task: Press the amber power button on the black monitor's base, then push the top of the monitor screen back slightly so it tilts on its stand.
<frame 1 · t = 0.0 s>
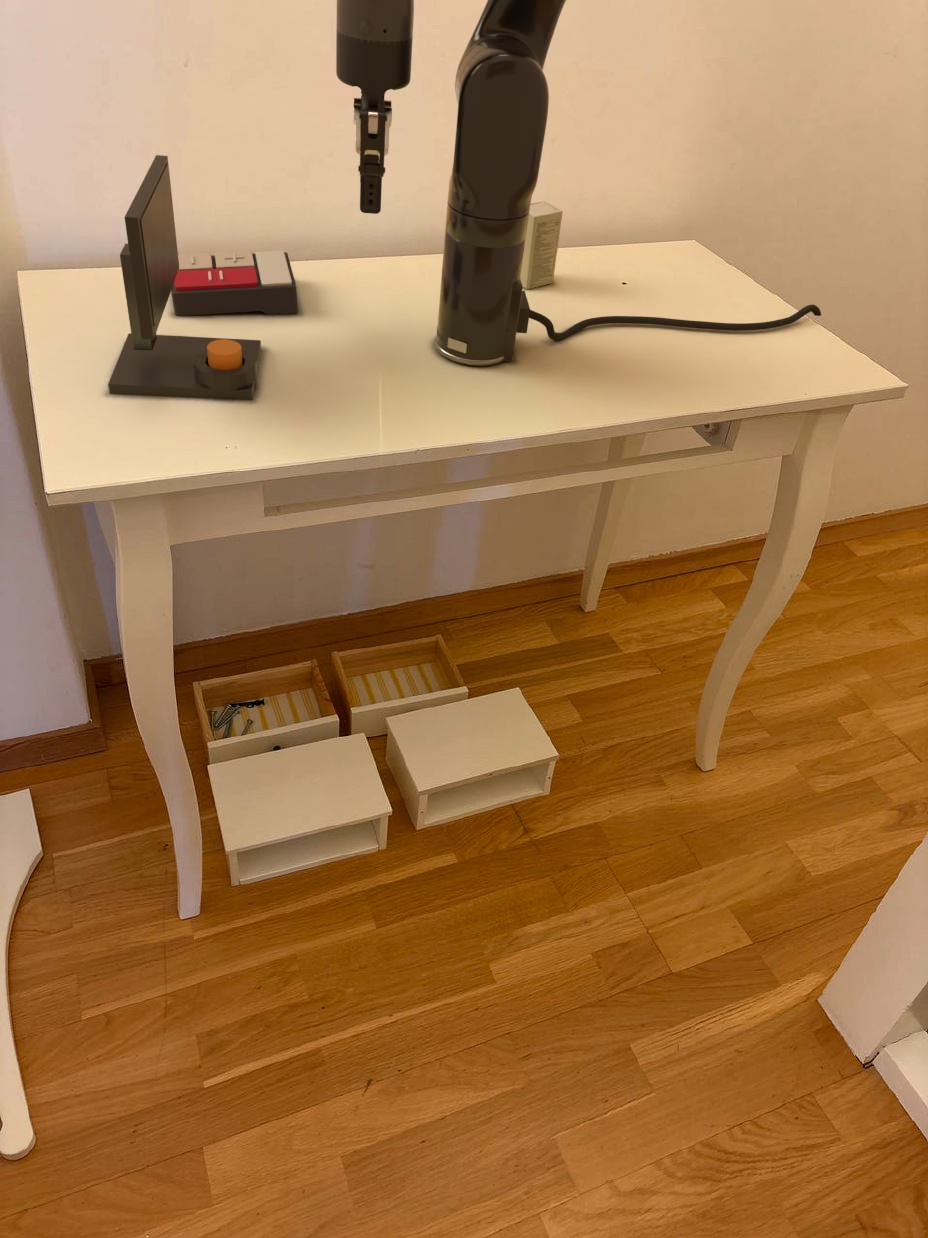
hand: (370, 198, 105), 17 cm above the table, tool pointing down, fingers open, 8 cm apart
cream printed box: (529, 282, 136), on the table
monitor stand: (161, 369, 107), resting on monitor base
power button: (224, 355, 103), point 4 cm above the table, slide at 0.1 cm
calculator: (234, 298, 123), on the table
monitor screen: (152, 244, 98), point 14 cm above the table, hinge at 0.0°
monitor base: (189, 370, 107), on the table
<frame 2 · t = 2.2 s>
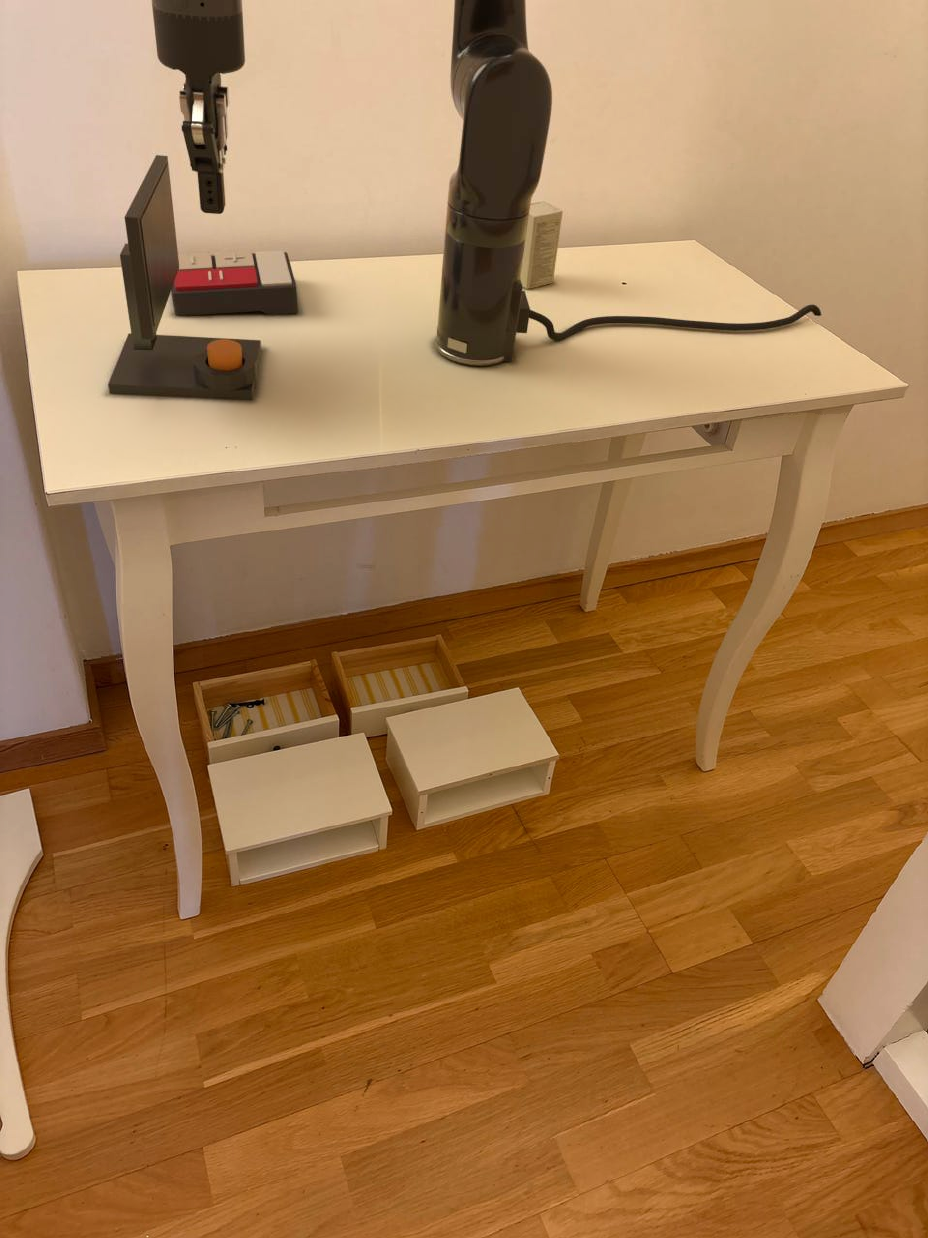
hand: (213, 209, 93), 19 cm above the table, tool pointing down, fingers closed
nothing on the table moved.
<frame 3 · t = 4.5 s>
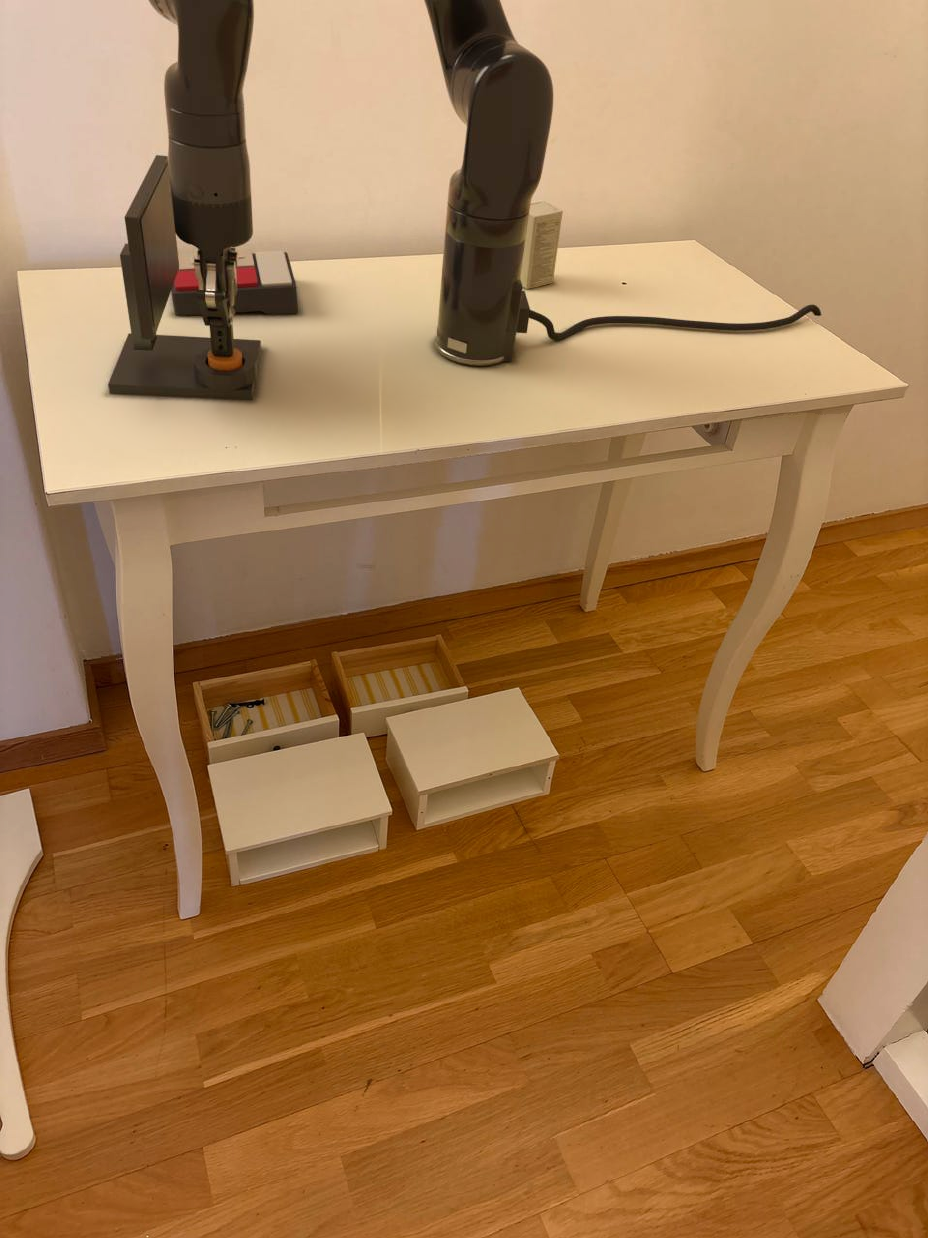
hand: (223, 353, 103), 4 cm above the table, tool pointing down, fingers closed
power button: (225, 362, 104), point 3 cm above the table, slide at -0.7 cm, touching gripper
everything else where it was.
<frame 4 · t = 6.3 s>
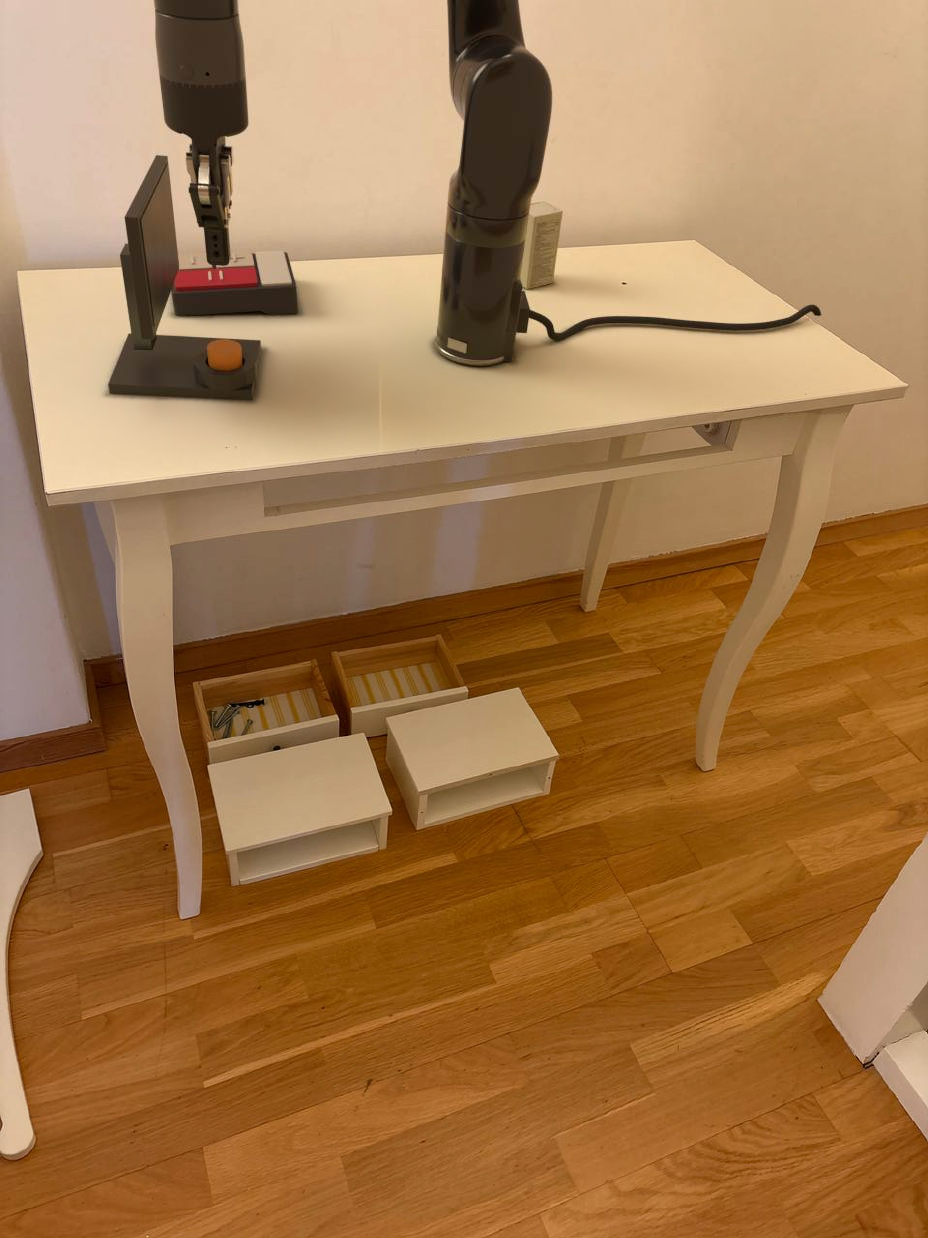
hand: (219, 261, 97), 14 cm above the table, tool pointing down, fingers closed
power button: (224, 355, 103), point 4 cm above the table, slide at 0.1 cm
everything else where it was.
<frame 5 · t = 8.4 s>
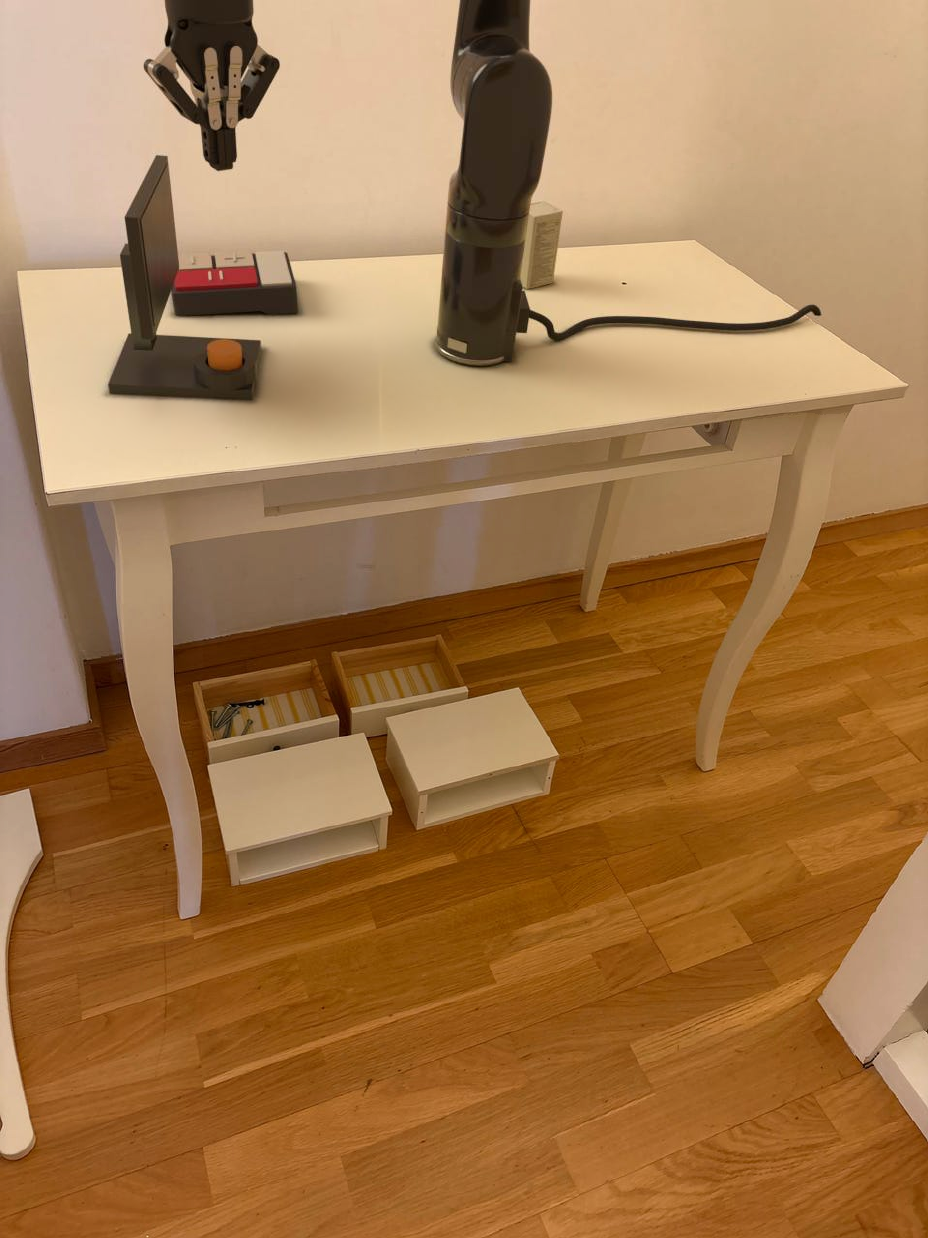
hand: (221, 167, 92), 22 cm above the table, tool pointing down, fingers closed
nothing on the table moved.
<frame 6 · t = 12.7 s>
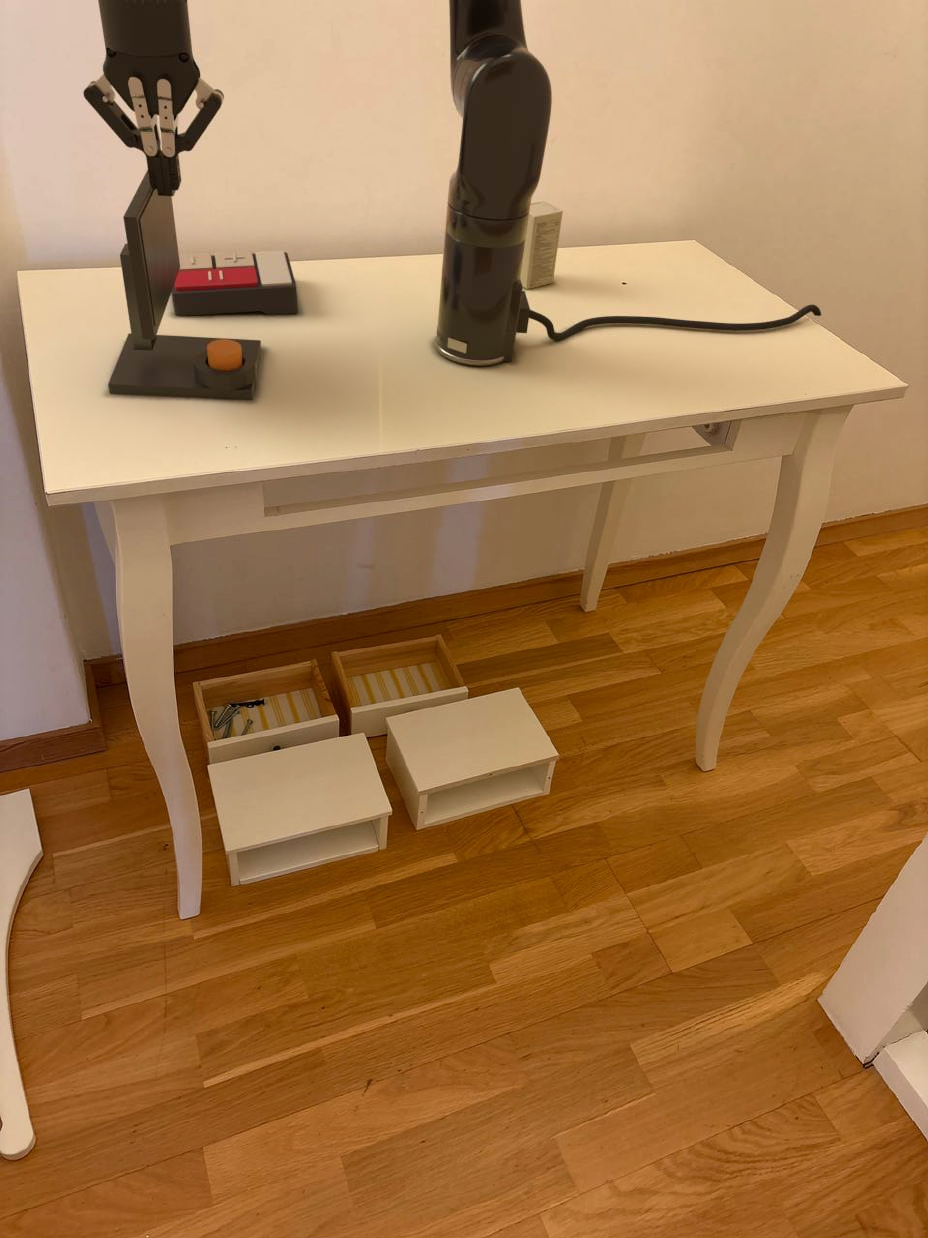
hand: (167, 193, 95), 19 cm above the table, tool pointing down, fingers closed
monitor screen: (152, 244, 98), point 14 cm above the table, hinge at 1.0°, touching gripper
everything else where it was.
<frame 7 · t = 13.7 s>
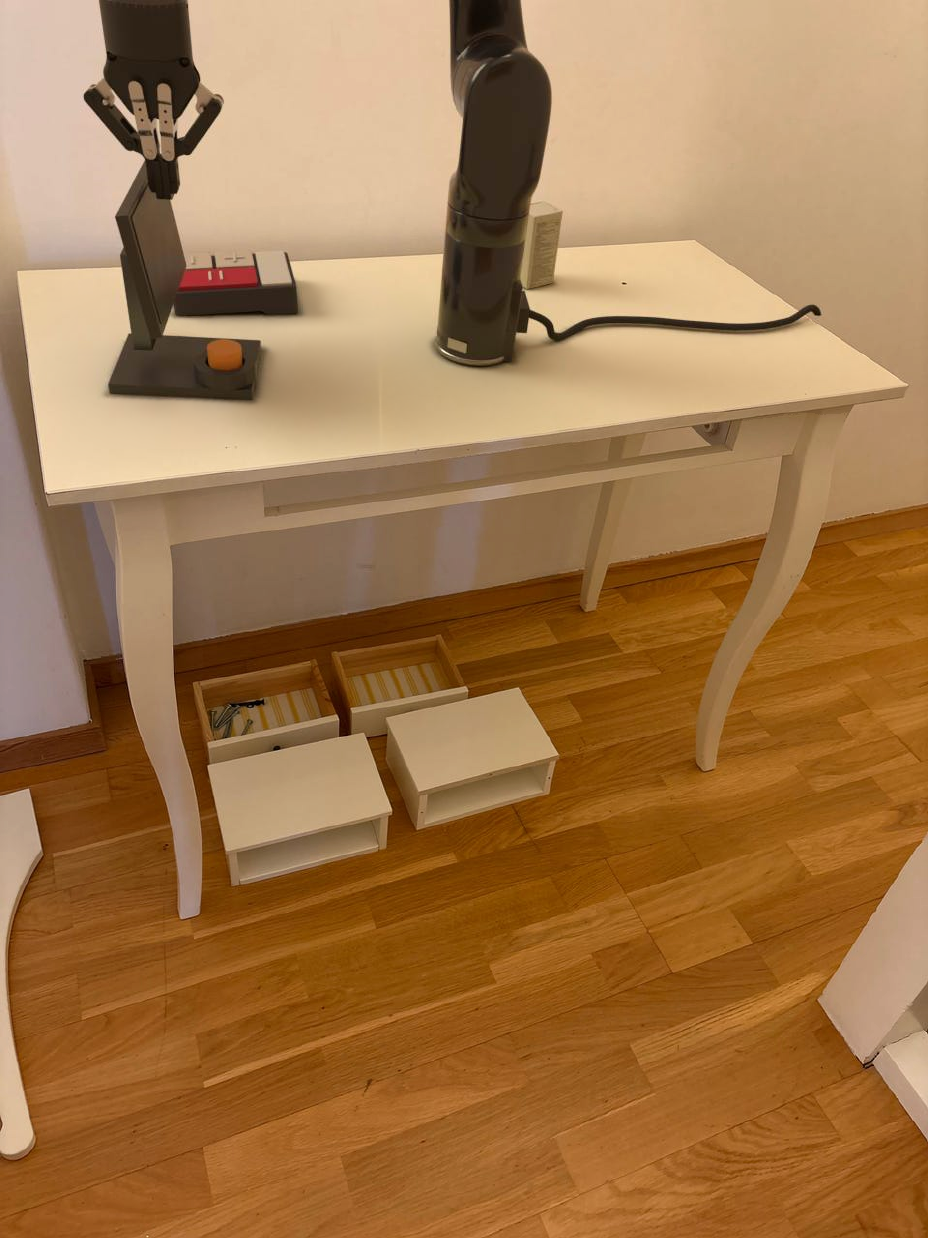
hand: (166, 196, 95), 19 cm above the table, tool pointing down, fingers closed
monitor screen: (151, 243, 98), point 14 cm above the table, hinge at 8.2°
everything else where it was.
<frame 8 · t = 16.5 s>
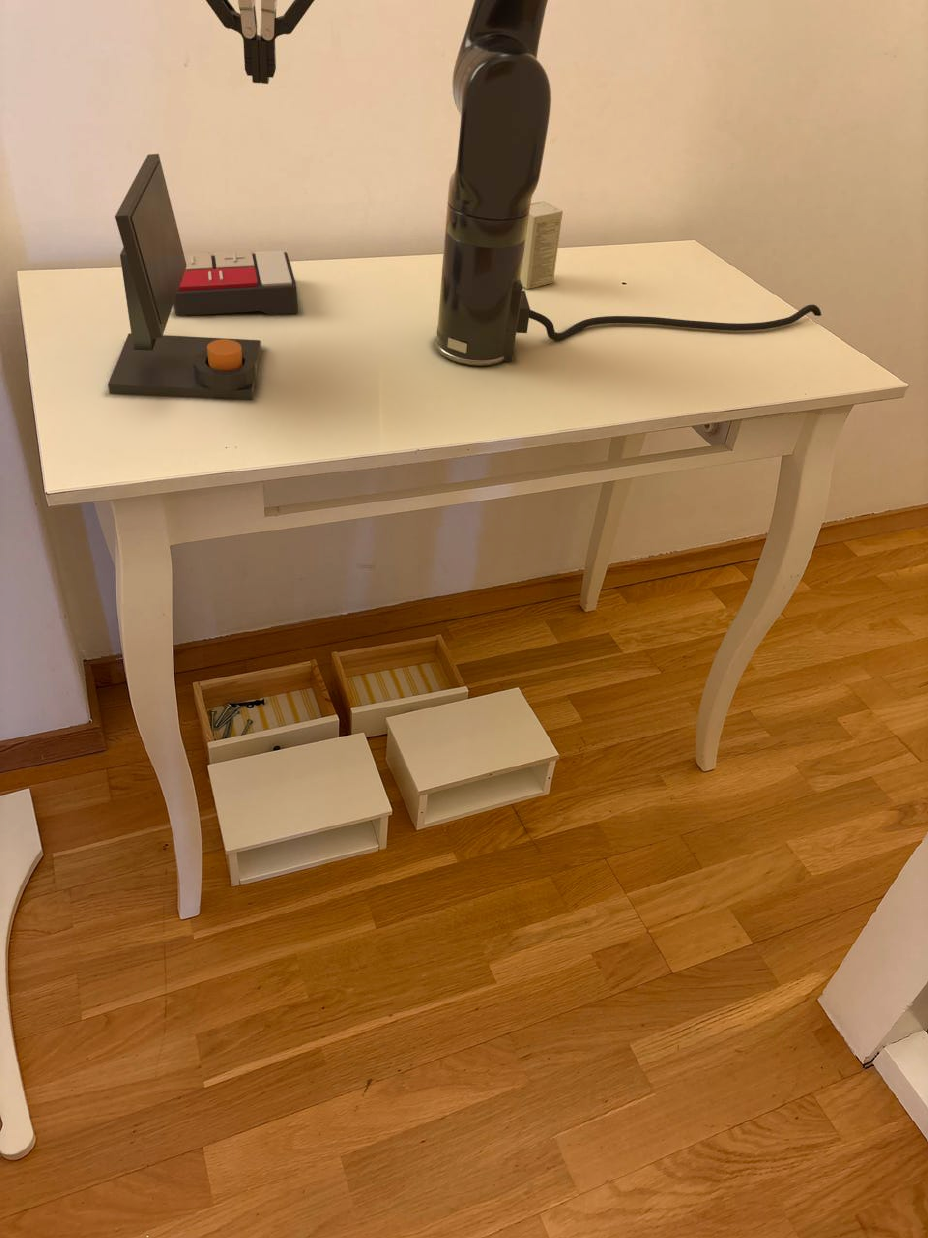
hand: (261, 81, 92), 29 cm above the table, tool pointing down, fingers closed
nothing on the table moved.
at the end: power button pushed in 1.1 cm at the most during the clip, back to where it started at the end; power button slide at 0.1 cm; monitor screen at +8° (first picture: +0°) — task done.
